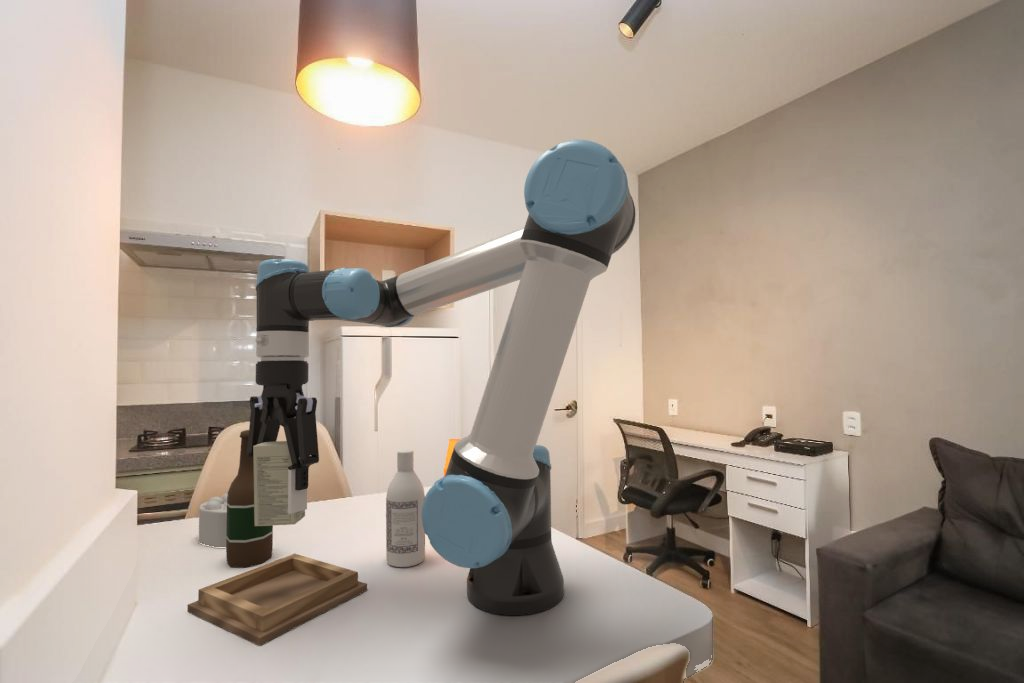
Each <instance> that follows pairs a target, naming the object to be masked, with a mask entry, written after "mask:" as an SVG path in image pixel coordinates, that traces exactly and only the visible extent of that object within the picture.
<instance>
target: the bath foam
mask: <svg viewBox="0 0 1024 683" xmlns="http://www.w3.org/2000/svg"><path fill="white" fill-rule="evenodd" d="M396 452H397V454H396V455H397V456H396V457H397V458H396V460H397V461H396V462H397V464H396V466H397V467H396V468H397V471H396V473H395V474H394V476H393V477H392V479H391V481H390V483H389V485H388V487H387V491H386V498H385V501H386V503H385V510H386V511H385V515H386V516H385V525H386V526H385V527H386V528H385V532H386V533H385V537H386V541H385V546H386V550H385V551H386V554H385V555H386V556H385V557H386V558H385V559H386V562H387V564H388V565H390V566H391V567H395V568H409V567H413V566H416V565H418V564H421V563H423V561H424V560H425V556H426V534H425V532H424V529H423V525H422V515H421V514H422V505H423V501H424V498H425V496H426V494H425V490H424V489H425V488H424V486H423V483H422V481H421V479H420V478H419V476H418V475H417V473H416V471H415V470H414V450H413V449H399V450H398V451H396Z"/></svg>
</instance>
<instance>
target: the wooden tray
mask: <svg viewBox="0 0 1024 683" xmlns="http://www.w3.org/2000/svg"><path fill="white" fill-rule="evenodd" d="M366 590H367V591H368V583H366V582H362V581H360V580H359V571H357V570H356V571H355V570H352V569H349V568H345V567H341V566H339V565H335V564H332V563H328V562H324V561H322V560H318V559H315V558H311V557H308V556H305V555H301V554H297V553H293V554H289V555H287V556H285V557H282V558H280V559H277V560H273V561H271V562H269V563H266V564H263V565H260V566H258V567H255V568H252V569H249V570H247V571H244V572H242V573H239V574H236V575H234V576H231V577H228V578H226V579H223V580H221V581H218V582H215V583H213V584H210V585H206V586H205V587H202V588H201V587H200V588H199V589H198V594H197V595H198V598H197V599H198V600H196V601H193V602H191V603H188V604H187V612H188V613H189V614H191V613H192V615H193V616H195V617H198V618H200V619H202V620H205V621H206V620H207V622H208V621H209V622H208V623H210V622H211V623H210V624H212V625H215V626H217V627H219V628H221V629H223V630H226V631H228V632H230V633H232V634H234V635H236V636H239V637H240V638H242V639H245V640H246V641H249V642H250V643H252V644H255V645H257V646H259V647H260V646H262V645H264V644H266V643H269V641H272V640H274V639H275V638H278V637H280V636H281V635H284V634H285V633H287V632H290V631H292V630H293V629H295V628H297V627H299V626H301V625H303V624H305V623H306V622H307V623H308V622H309V621H310V620H313V619H314V618H316V617H319V616H320V615H323V614H324V613H326V612H328V611H330V610H332V609H334V608H335V607H338V606H339V604H340V605H342V604H343V603H345V602H347V601H349V600H352V599H353V598H355V597H357V596H359V595H361V594H363V593H365V592H366ZM364 591H365V592H364ZM360 593H361V594H360ZM341 603H342V604H341Z"/></svg>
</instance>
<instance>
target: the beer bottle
mask: <svg viewBox="0 0 1024 683" xmlns="http://www.w3.org/2000/svg"><path fill="white" fill-rule="evenodd" d="M248 437H249V429H246V430H243V431H241V432H240V433H239V438H241V441H240V454H239V464H238V469H237V471H238V472H237V475H236V476H235V478H234V479H233V480H232V481H231V484H230V486H229V488H228V491H227V493H228V496H227V531H226V548H225V552H226V553H225V554H226V562H227V564H228V565H229V567H230V568H248V567H254V566H257V565H261V564H264V562H266V561H268V560H269V559H271V558H272V556H273V543H274V542H273V541H274V540H273V537H274V536H273V535H274V534H273V533H274V532H273V530H274V529H273V528H274V525H272V526H255V522H254V459H253V458H248V456H247V448H248Z"/></svg>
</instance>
